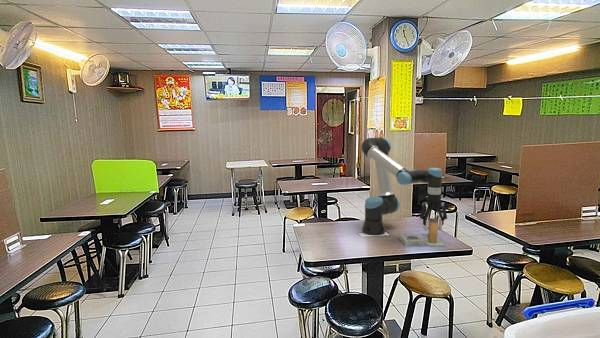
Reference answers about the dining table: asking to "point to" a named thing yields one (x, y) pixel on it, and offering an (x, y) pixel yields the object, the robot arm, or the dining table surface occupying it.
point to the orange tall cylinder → (433, 230)
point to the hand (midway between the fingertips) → (432, 230)
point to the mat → (434, 243)
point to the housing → (412, 240)
